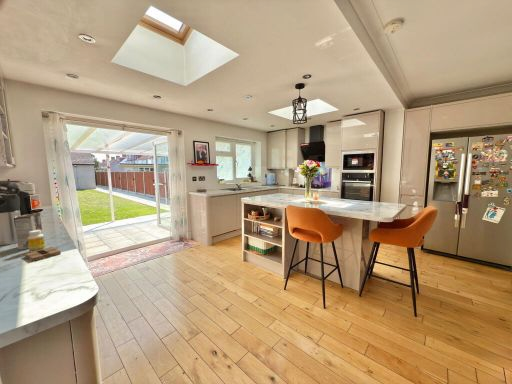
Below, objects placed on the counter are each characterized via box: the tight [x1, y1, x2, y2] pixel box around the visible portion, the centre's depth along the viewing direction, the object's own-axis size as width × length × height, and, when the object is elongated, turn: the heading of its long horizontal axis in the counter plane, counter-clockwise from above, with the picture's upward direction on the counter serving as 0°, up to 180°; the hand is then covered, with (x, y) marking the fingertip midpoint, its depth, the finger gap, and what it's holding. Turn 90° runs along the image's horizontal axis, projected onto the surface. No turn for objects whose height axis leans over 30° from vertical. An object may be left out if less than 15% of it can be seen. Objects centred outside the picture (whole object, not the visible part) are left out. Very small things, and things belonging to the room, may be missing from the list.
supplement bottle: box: [28, 230, 46, 252], centre depth 99 cm, size 5×5×10 cm
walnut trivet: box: [24, 246, 62, 262], centre depth 93 cm, size 11×9×2 cm
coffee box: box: [14, 213, 44, 250], centre depth 106 cm, size 9×6×16 cm
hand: (21, 196), depth 97 cm, fingers open, 8 cm apart
